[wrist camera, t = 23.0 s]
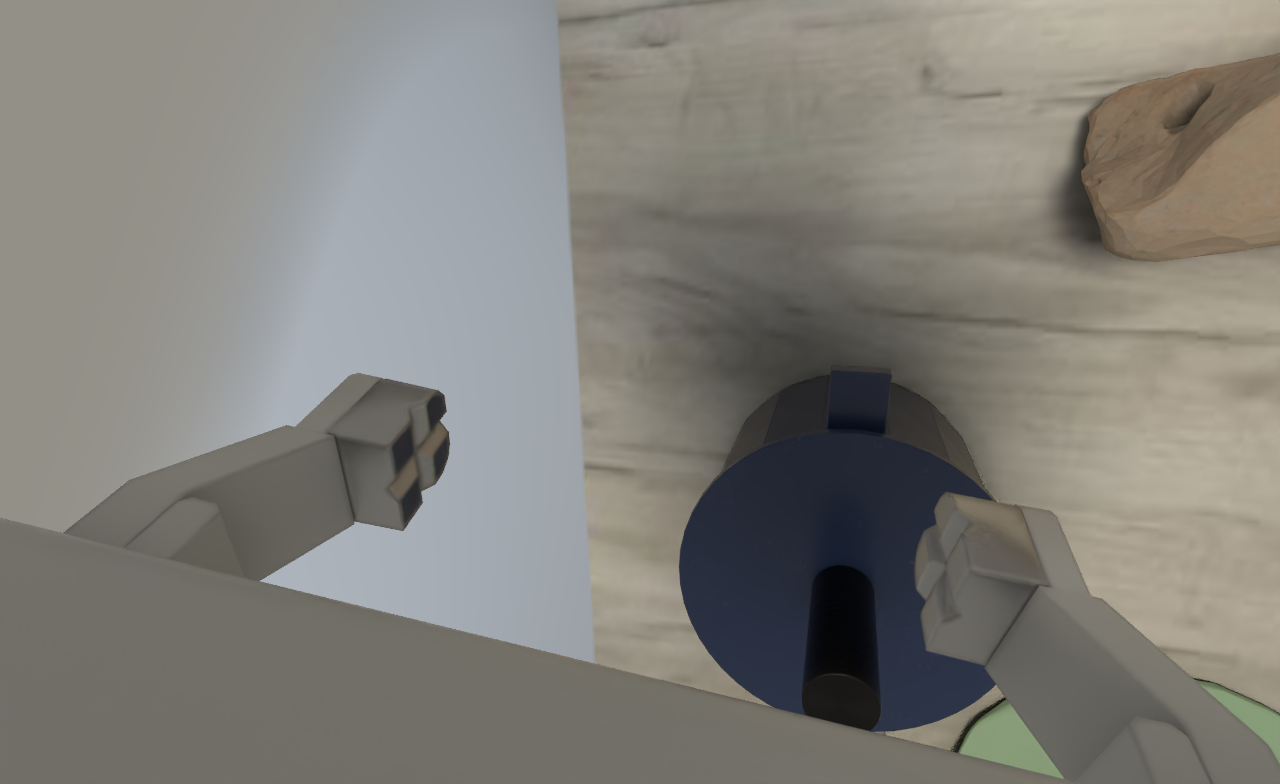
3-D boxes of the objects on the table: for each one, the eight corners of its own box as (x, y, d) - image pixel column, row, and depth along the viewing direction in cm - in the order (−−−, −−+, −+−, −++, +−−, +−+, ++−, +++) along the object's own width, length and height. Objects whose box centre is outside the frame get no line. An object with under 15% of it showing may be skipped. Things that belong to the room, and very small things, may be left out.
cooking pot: (724, 607, 44) (689, 725, 34) (733, 320, 38) (694, 365, 29) (950, 644, 40) (982, 789, 31) (996, 332, 35) (1052, 389, 25)
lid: (682, 680, 34) (636, 818, 27) (686, 409, 30) (631, 484, 23) (998, 742, 30) (1047, 926, 23) (1053, 440, 26) (1135, 543, 19)
